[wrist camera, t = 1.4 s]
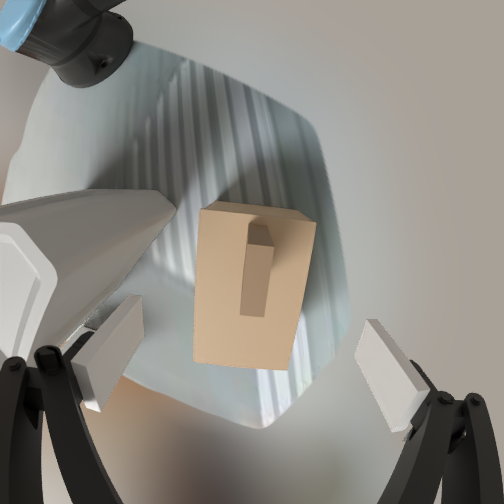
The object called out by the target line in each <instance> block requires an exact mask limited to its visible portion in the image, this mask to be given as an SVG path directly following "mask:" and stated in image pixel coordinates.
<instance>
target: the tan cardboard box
mask: <svg viewBox="0 0 504 504" xmlns="http://www.w3.org/2000/svg"><path fill="white" fill-rule="evenodd" d="M316 224H317V223H316V222H315V221H308V220H300V219H293V218H285V217H276V216H268V215H260V214H251V213H242V212H232V211H222V210H212V209H202V208H201V209H200V215H199V228H198V242H197V259H196V278H195V303H194V362H200V363H207V364H215V365H223V366H233V367H243V368H255V369H270V370H287V368H288V364H289V360H290V356H291V352H292V348H293V343H294V339H295V334H296V330H297V325H298V321H299V316H300V311H301V306H302V302H303V297H304V292H305V286H306V281H307V276H308V271H309V265H310V260H311V254H312V248H313V242H314V236H315V230H316Z"/></svg>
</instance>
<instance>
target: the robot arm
mask: <svg viewBox="0 0 504 504" xmlns="http://www.w3.org/2000/svg"><path fill="white" fill-rule="evenodd" d="M124 1H126V0H7V2H6V3H5V5H4V7H3V8H2V10H1V12H0V45H2V46H4V47H6V48H7V49H9V50H10V51H12V52H14V51H15V52H18V53H20V54H23V55H25V56H28V57H31V58H33V59H36V60H38V61H41V62H43V63H46V64H48V65H50V66H51V67H52V68H53V69H54V71H55V72H56V73H57V74H58V76H59V78H60V79H61V80H62V81H63V82H64V83H66V84H68V85H70V86H72V87H75V88H86V87H90V86H93V85H95V84H98V83H99V82H101V81H103V80H104V79H106V78H107V77H108V76H110V75H111V74H112V73H113V72H114V71H115V70H116V69H117V68H118V67H119V66H120V65H121V63H122V62H123V61H124V59H125V58H126V56H127V54H128V52H129V50H130V48H131V45H132V41H133V30H132V27H131V25H130V24H129V23H128V21H127V20H126V19H125V18H124V17H122V16H121V15H119V14H117V13H113V12H110V11H108V10H110V9H111V8H113V7H115V6H117V5H118V4H120V3H122V2H124ZM143 338H144V325H143V309H142V296H138V295H133V294H130V295H129V296H128V297H127V298H126V299H125V300H124V301H123V302H122V303H121V304H120V305H119V306H118V307H117V309H116V310H115V311H114V312H113V313H112V314H111V315H110V316H109V317H108V318H107V320H106V321H105V322H104V323H103V324H102V325H101V326H100V327H99V329H98V330H97V331H96V332H92V331H87V332H86V333H84V334H82V335H80V337H79V338H78V339H77V340H76V342H74V343H73V344H72V346H70V348H69V349H68V350H67V351H66V352H65V353H64V354H63V355H62V352H61V350H60V349H59V348H58V347H56V346H53V345H45V346H42V347H40V348H38V349H37V350H36V351H35V352H34V359H35V362H36V365H37V368H35V367H28V366H27V364H26V361H25V360H24V359H23V358H22V357H19V356H12V357H10V358H8V359H6V360H5V361H4V363H3V365H2V368H1V370H0V504H44V502H43V492H42V475H41V440H42V423H43V412H44V411H45V414H46V419H47V424H48V429H49V433H50V437H51V441H52V445H53V449H54V452H55V456H56V459H57V462H58V465H59V469H60V472H61V474H62V477H63V480H64V483H65V485H66V488H67V491H68V493H69V496H70V498H71V501H72V503H73V504H123V502H122V500H121V498H120V497H119V495H118V493H117V491H116V489H115V488H114V486H113V484H112V482H111V480H110V478H109V476H108V474H107V472H106V470H105V468H104V466H103V464H102V462H101V459H100V457H99V455H98V452H97V450H96V448H95V445H94V443H93V440H92V438H91V435H90V433H89V430H88V428H87V425H86V422H85V419H84V416H83V413H82V410H81V408H80V403H81V401H82V400H84V403H85V405H86V407H87V408H89V409H92V410H95V411H98V412H101V411H102V409H103V407H104V405H105V404H106V402H107V400H108V398H109V396H110V394H111V393H112V391H113V389H114V387H115V386H116V384H117V382H118V380H119V378H120V377H121V375H122V373H123V372H124V370H125V368H126V366H127V365H128V363H129V361H130V360H131V358H132V356H133V354H134V353H135V351H136V349H137V348H138V346H139V344H140V343H141V341H142V339H143ZM354 357H355V359H356V361H357V363H358V365H359V367H360V369H361V371H362V373H363V375H364V377H365V379H366V380H367V382H368V385H369V386H370V388H371V391H372V393H373V395H374V397H375V398H376V401H377V403H378V405H379V407H380V409H381V411H382V413H383V415H384V417H385V419H386V421H387V423H388V425H389V427H390V429H391V432H396V431H401V430H405V428H406V427H407V425H408V424H409V423H410V422H411V424H412V426H413V427H412V429H411V430H410V432H409V433H408V434H407V435H406V437H405V438H404V440H403V441H405V440H406V439H407V440H406V443H405V445H404V448H403V450H402V453H401V455H400V457H399V460H398V462H397V464H396V467H395V469H394V471H393V473H392V476H391V478H390V480H389V482H388V484H387V486H386V488H385V490H384V492H383V494H382V496H381V498H380V499H379V501H378V503H377V504H433V503H434V501H435V498H436V494H437V491H438V488H439V485H440V481H441V478H442V498H441V504H504V494H503V484H502V475H501V468H500V462H499V456H498V451H497V446H496V441H495V437H494V432H493V428H492V424H491V420H490V417H489V413H488V410H487V407H486V403H485V401H484V399H483V398H482V397H481V395H479V394H476V393H469V394H468V395H467V396H466V398H465V399H464V401H463V400H455V399H454V397H453V396H452V395H451V394H449V393H447V392H444V391H437V389H436V388H435V386H434V385H433V384H432V382H431V381H430V379H429V378H428V377H426V374H425V373H424V372H423V370H422V369H421V368H420V366H419V365H418V364H417V363H415V362H414V361H413V360H409V359H408V358H407V357H406V356H405V354H404V353H403V352H402V350H401V349H400V348H399V347H398V345H397V344H396V343H395V341H394V340H393V339H392V337H391V336H390V335H389V334H388V332H387V331H386V330H385V329H384V327H383V326H382V325H381V323H380V322H379V321H378V320H376V319H367V320H366V323H365V326H364V329H363V332H362V335H361V338H360V341H359V344H358V346H357V349H356V352H355V355H354ZM465 432H466V435H465V434H464V433H465Z"/></svg>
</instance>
